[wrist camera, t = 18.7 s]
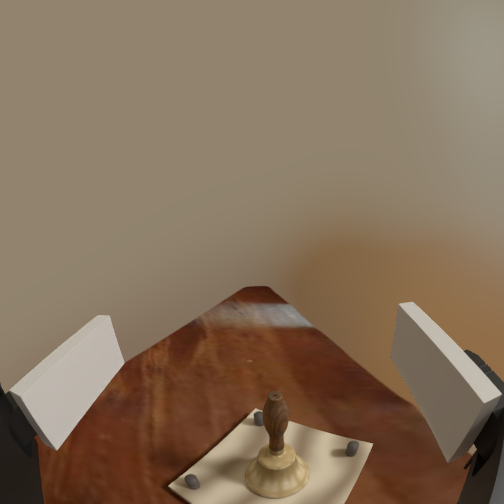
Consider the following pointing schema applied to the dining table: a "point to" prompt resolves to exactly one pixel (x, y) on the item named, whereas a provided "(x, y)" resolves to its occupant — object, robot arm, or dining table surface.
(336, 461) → the board
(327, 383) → the dining table surface
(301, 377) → the dining table surface
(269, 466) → the hand bell
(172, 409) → the dining table surface
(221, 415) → the dining table surface
